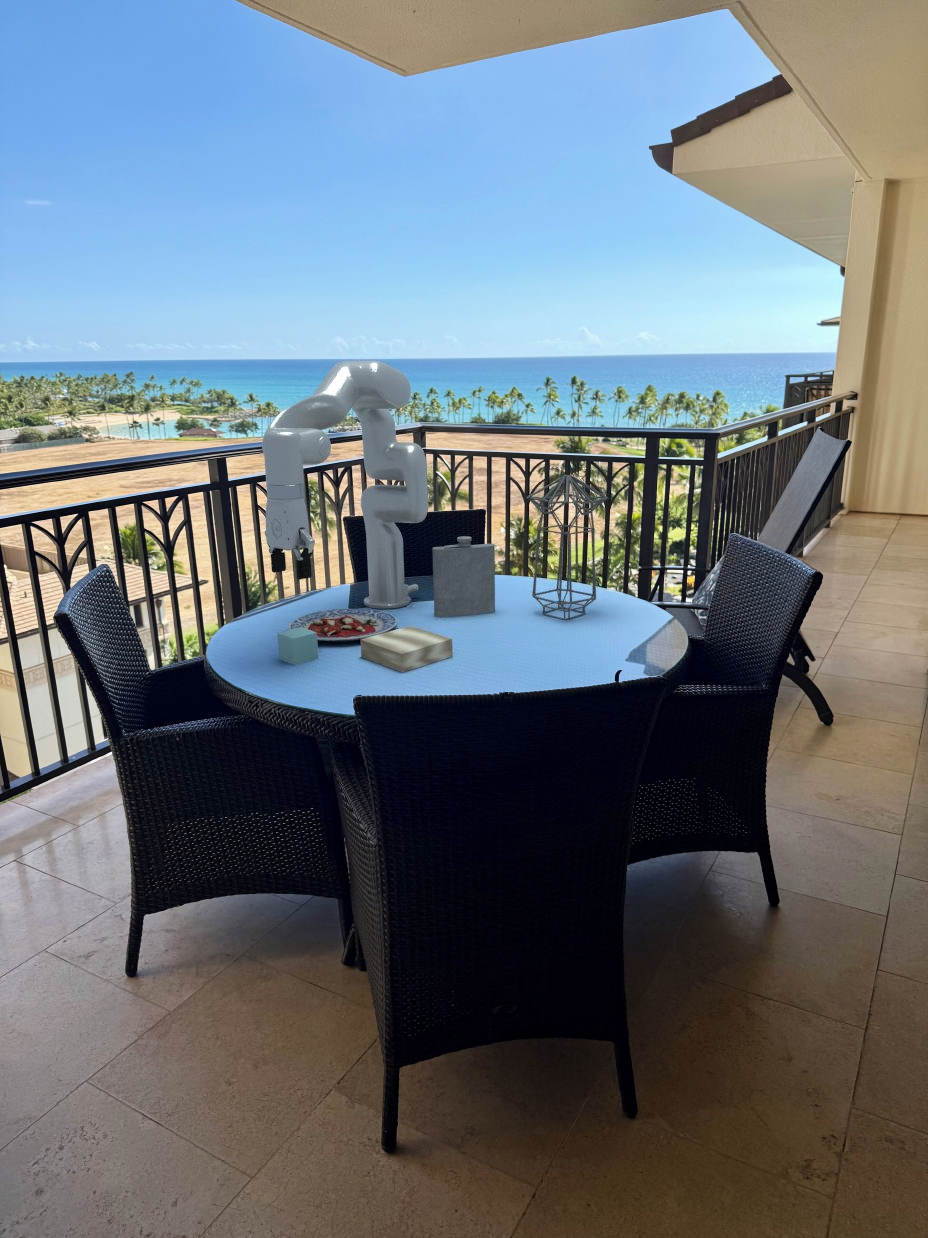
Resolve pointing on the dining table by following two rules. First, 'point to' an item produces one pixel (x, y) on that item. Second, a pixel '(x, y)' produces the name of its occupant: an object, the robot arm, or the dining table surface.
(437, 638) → the birch base
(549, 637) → the dining table surface
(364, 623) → the ceramic plate
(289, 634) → the teal cube
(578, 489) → the geometric lantern
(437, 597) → the hip flask
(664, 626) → the dining table surface
